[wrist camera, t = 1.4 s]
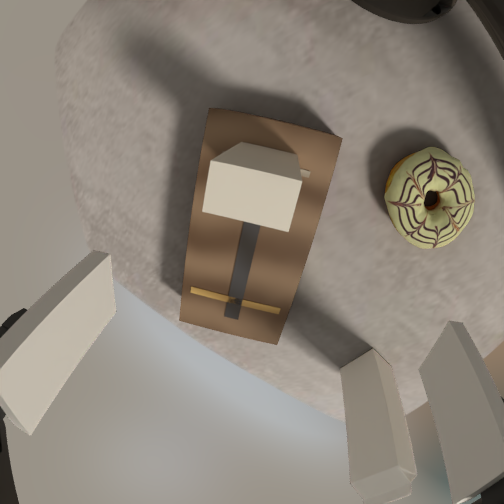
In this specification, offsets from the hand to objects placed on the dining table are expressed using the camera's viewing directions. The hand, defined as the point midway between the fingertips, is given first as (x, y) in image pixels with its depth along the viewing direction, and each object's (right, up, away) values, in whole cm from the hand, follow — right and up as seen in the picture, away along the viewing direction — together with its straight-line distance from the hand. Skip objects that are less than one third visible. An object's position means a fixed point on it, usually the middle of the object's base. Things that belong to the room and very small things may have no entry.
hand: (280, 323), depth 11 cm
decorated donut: (+18, +9, +19) cm, 28 cm away
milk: (+16, -15, +31) cm, 37 cm away
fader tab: (0, +10, +16) cm, 19 cm away
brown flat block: (-1, +5, +23) cm, 24 cm away
